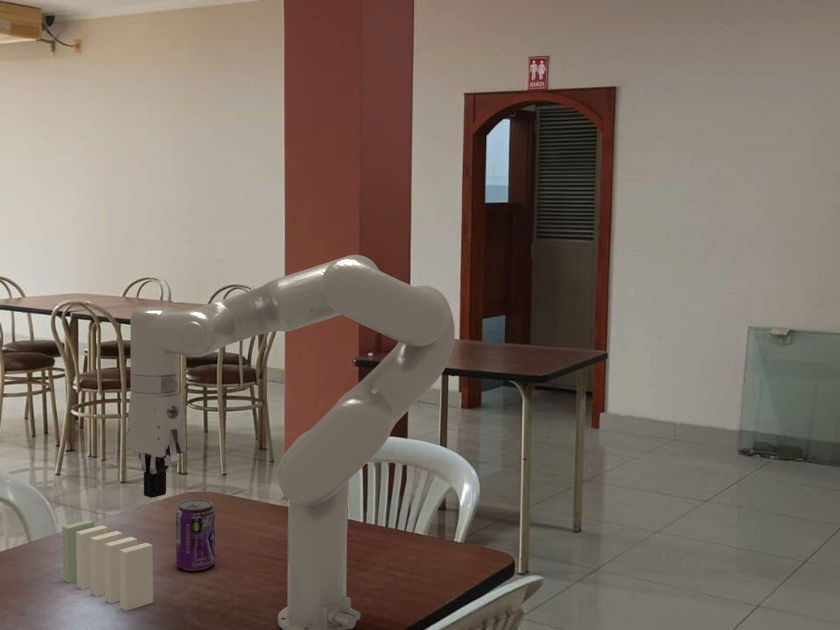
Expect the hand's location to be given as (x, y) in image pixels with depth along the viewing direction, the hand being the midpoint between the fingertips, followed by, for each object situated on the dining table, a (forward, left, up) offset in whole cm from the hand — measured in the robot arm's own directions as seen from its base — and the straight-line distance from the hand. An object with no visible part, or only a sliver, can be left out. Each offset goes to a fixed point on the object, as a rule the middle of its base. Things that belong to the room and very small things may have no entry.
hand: (154, 495), depth 166 cm
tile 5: (+24, 0, -20) cm, 31 cm away
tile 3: (+15, 0, -20) cm, 25 cm away
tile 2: (+10, 0, -20) cm, 23 cm away
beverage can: (+14, -18, -20) cm, 31 cm away
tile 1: (+6, 0, -20) cm, 21 cm away
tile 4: (+19, 0, -20) cm, 28 cm away
